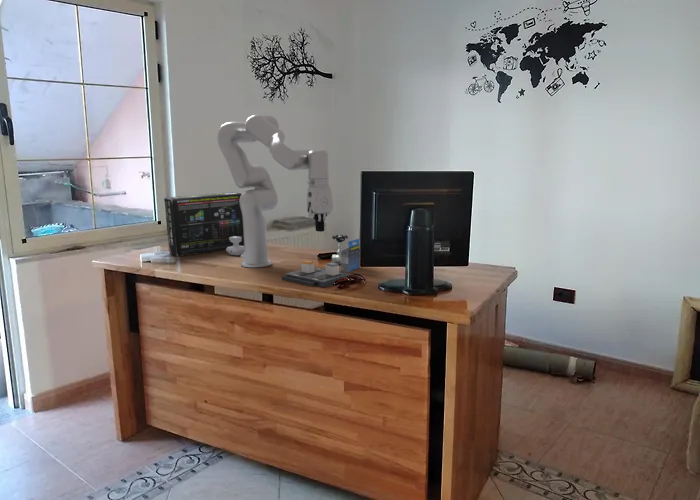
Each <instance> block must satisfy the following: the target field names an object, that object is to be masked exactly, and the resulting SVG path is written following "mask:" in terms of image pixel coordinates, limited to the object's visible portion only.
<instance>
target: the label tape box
mask: <svg viewBox="0 0 700 500" xmlns="http://www.w3.org/2000/svg"><path fill="white" fill-rule="evenodd" d="M359 240H360V238H355V239H353V240H350V241H347V243H348V247H346V248H345V249H342V251H341V264H340V272H344V273H350V272H352V271H354V270H356V269H359V268H360V259H359ZM354 243H355V244H354Z"/></svg>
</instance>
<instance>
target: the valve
mask: <svg viewBox="0 0 700 500" xmlns="http://www.w3.org/2000/svg"><path fill="white" fill-rule="evenodd" d="M348 238H349V236H348V234H344V235H343V234H340V235H339V234H335V235H332V239H333V240H335V241H336V242H337V243H338V244H337V248H338V249H337V250H336V254H332V256H331V262H332V263H337V264H338V265H341V251H342V250H343V244H342V243H343V242H345V240H346V239H347V240H348Z"/></svg>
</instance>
